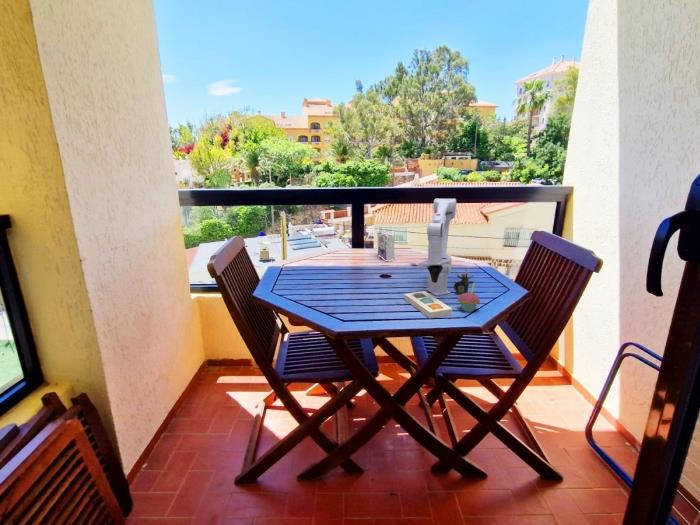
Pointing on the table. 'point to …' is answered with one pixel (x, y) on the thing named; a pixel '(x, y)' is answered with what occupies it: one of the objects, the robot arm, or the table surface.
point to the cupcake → (469, 300)
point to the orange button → (435, 306)
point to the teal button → (426, 300)
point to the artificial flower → (462, 283)
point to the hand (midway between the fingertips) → (434, 281)
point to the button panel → (428, 305)
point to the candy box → (386, 245)
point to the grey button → (418, 295)
